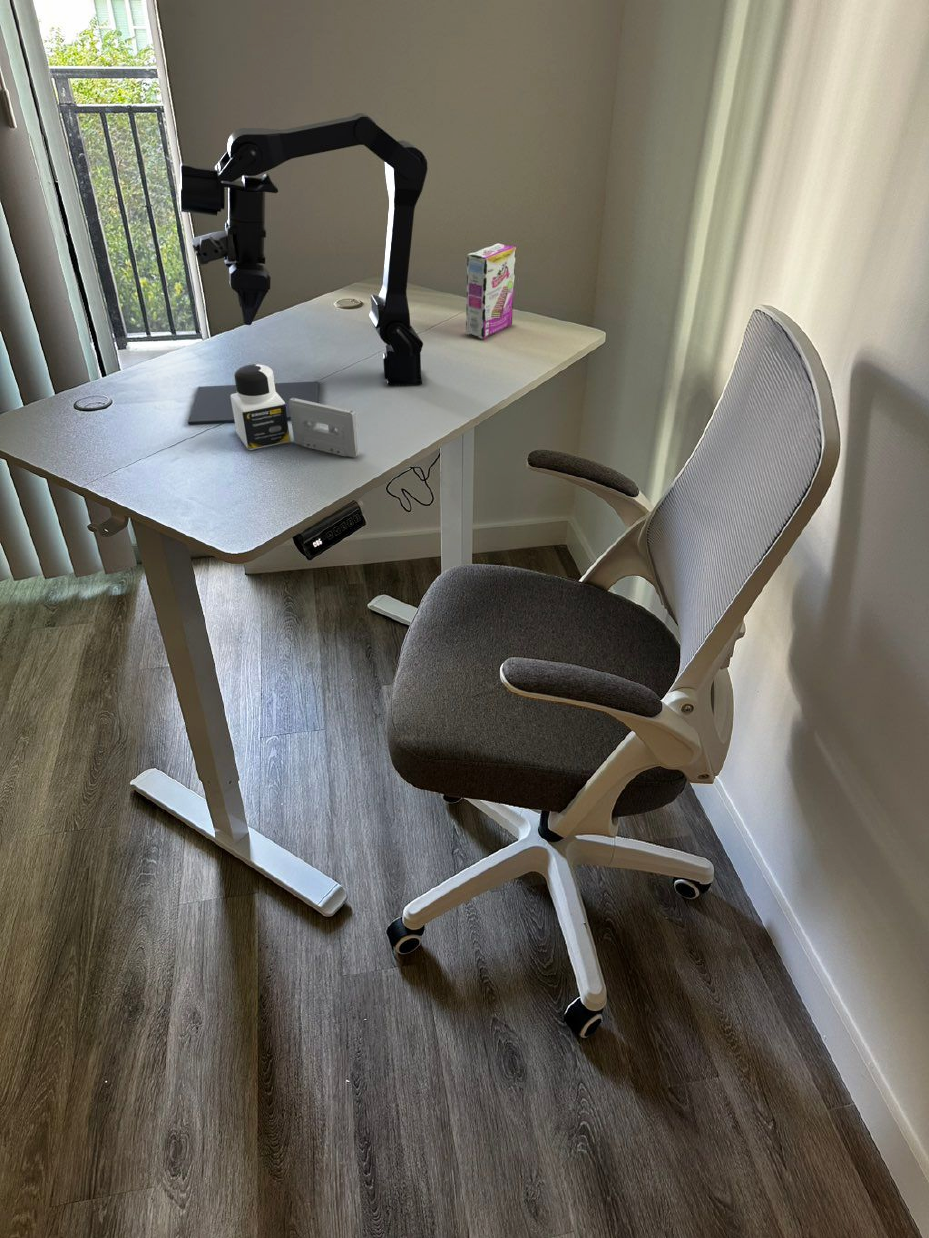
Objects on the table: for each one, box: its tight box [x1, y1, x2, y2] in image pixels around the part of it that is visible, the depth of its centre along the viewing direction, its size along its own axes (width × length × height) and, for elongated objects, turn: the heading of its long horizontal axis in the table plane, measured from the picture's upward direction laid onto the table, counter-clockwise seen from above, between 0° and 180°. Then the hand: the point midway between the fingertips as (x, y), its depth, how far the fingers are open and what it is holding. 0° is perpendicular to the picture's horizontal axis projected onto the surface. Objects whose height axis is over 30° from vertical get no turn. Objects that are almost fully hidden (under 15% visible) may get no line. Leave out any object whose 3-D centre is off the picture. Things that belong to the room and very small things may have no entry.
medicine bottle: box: [231, 363, 291, 451], centre depth 139 cm, size 7×7×12 cm
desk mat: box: [187, 380, 320, 426], centre depth 153 cm, size 22×15×1 cm
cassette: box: [289, 398, 359, 459], centre depth 137 cm, size 12×2×8 cm, turn 64°
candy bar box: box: [465, 243, 517, 340], centre depth 178 cm, size 11×5×16 cm, turn 144°
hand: (245, 315), depth 147 cm, fingers open, 9 cm apart
